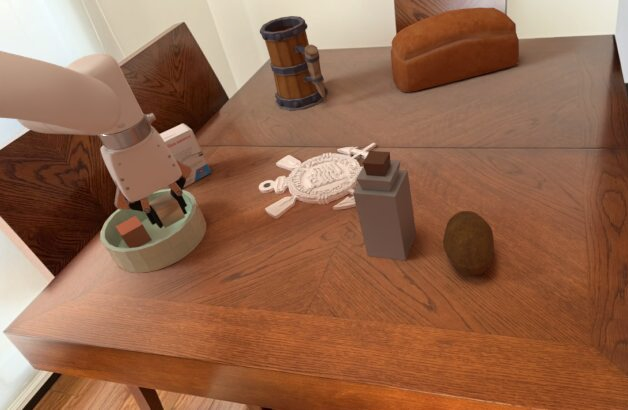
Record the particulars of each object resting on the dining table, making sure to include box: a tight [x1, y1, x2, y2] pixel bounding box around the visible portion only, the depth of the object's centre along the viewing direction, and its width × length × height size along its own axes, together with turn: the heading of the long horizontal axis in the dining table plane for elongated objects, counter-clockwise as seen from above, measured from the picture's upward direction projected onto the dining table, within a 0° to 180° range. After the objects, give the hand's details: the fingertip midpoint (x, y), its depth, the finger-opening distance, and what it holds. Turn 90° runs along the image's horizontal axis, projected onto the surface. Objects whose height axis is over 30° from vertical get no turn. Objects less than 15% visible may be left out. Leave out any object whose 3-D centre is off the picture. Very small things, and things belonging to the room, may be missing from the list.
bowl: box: [99, 188, 208, 274], centre depth 95 cm, size 18×18×6 cm
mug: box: [259, 15, 329, 112], centre depth 128 cm, size 19×14×20 cm
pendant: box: [258, 142, 377, 220], centre depth 104 cm, size 21×28×1 cm
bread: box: [390, 7, 520, 93], centre depth 129 cm, size 14×33×16 cm, turn 104°
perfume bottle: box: [352, 150, 417, 261], centre depth 81 cm, size 7×7×18 cm
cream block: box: [149, 192, 185, 228], centre depth 91 cm, size 4×4×4 cm
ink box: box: [159, 123, 212, 189], centre depth 109 cm, size 9×5×12 cm, turn 130°
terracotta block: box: [115, 216, 151, 248], centre depth 95 cm, size 4×4×4 cm
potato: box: [442, 210, 495, 277], centre depth 79 cm, size 8×12×8 cm, turn 8°
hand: (170, 217), depth 92 cm, fingers closed on cream block, 4 cm apart
